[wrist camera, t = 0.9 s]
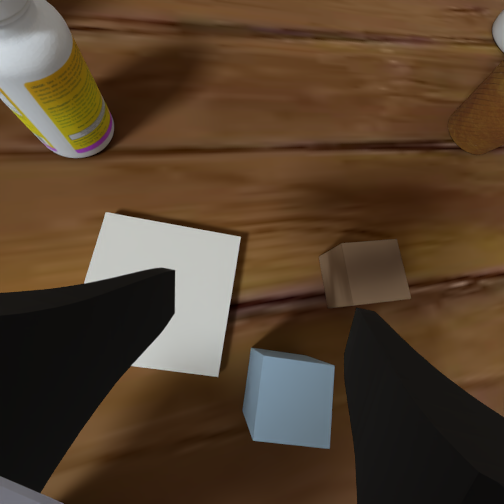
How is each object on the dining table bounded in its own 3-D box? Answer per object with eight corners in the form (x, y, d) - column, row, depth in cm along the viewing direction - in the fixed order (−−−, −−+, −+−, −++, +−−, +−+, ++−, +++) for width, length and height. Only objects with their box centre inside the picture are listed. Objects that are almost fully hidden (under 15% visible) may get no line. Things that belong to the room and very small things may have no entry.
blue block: (300, 417, 23) (329, 448, 18) (242, 410, 23) (252, 440, 17) (305, 355, 25) (334, 365, 19) (250, 347, 24) (263, 355, 18)
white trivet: (217, 374, 23) (218, 377, 22) (68, 355, 22) (61, 356, 21) (239, 239, 26) (240, 236, 25) (110, 216, 25) (106, 212, 24)
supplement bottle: (122, 108, 28) (52, -62, 15) (108, 166, 26) (17, 27, 14) (51, 96, 27) (-83, -93, 15) (32, 155, 25) (-137, -2, 13)
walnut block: (375, 302, 27) (411, 298, 22) (327, 308, 26) (353, 305, 21) (364, 252, 28) (396, 238, 23) (318, 256, 27) (341, 243, 22)
